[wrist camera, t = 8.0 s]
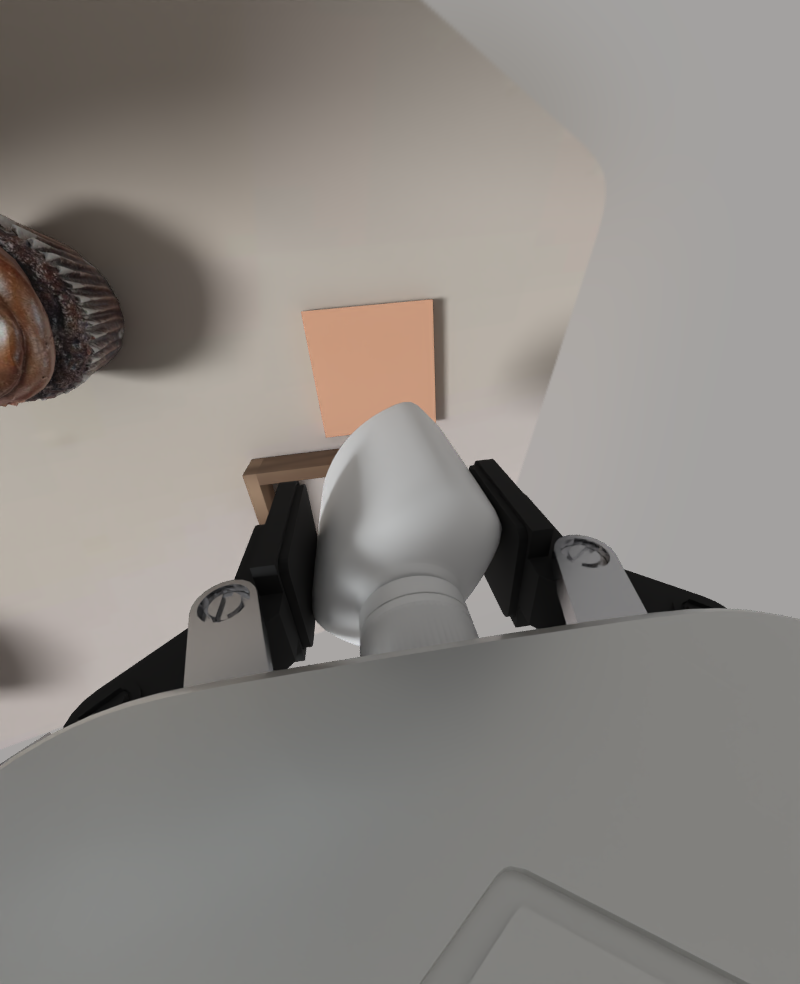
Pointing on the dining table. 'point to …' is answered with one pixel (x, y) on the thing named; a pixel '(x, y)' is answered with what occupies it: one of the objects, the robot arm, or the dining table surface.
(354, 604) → the eye dropper bottle
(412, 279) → the dining table surface
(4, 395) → the cupcake
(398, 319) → the terracotta tile
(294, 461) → the walnut holder
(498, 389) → the dining table surface
